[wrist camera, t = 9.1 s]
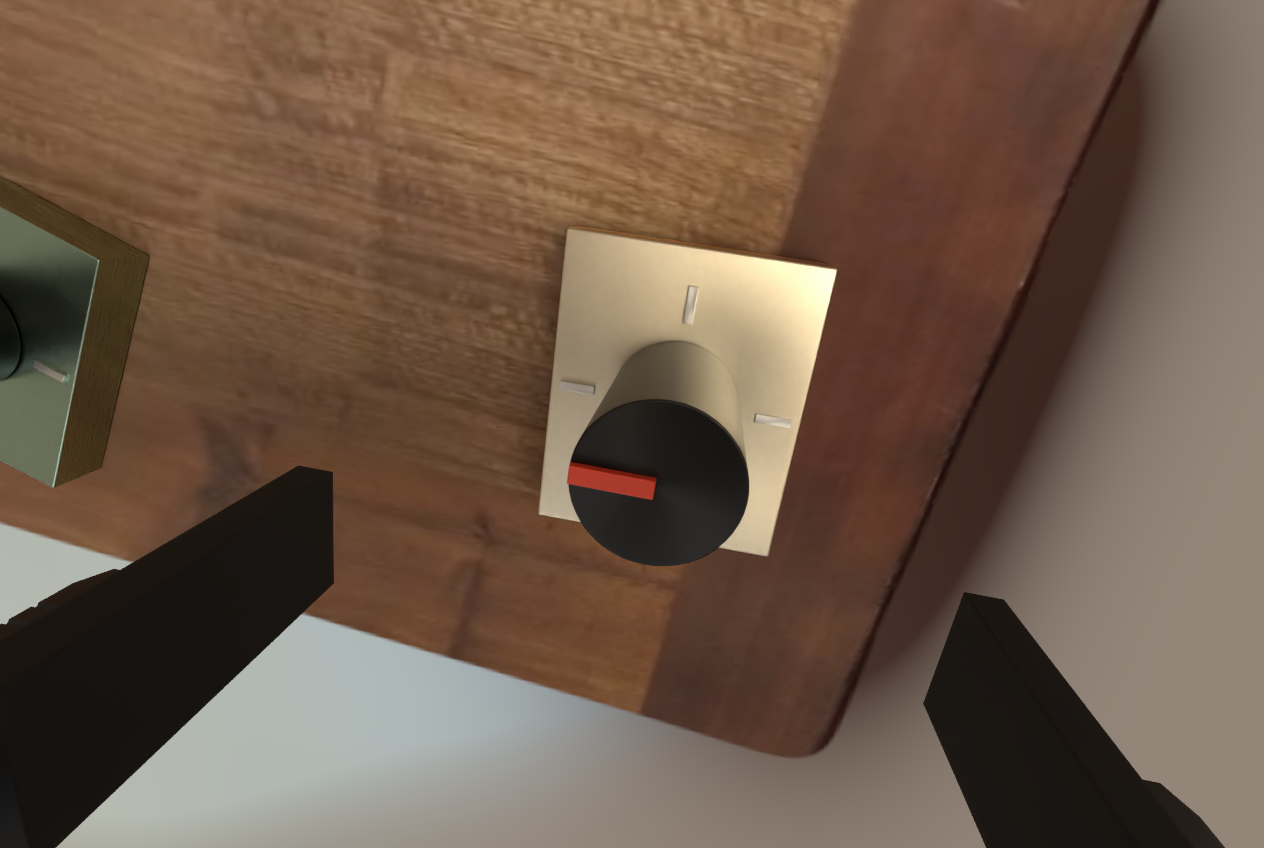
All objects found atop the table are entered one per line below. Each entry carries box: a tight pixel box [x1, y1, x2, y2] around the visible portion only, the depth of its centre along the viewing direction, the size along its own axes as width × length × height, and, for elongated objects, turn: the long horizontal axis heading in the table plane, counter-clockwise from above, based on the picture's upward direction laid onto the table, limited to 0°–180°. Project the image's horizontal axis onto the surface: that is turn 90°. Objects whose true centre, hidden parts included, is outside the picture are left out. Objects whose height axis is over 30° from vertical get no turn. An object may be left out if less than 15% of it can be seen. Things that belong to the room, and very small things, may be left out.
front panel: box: [538, 226, 838, 557], centre depth 26 cm, size 12×10×3 cm
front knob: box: [567, 341, 749, 566], centre depth 21 cm, size 5×5×8 cm
